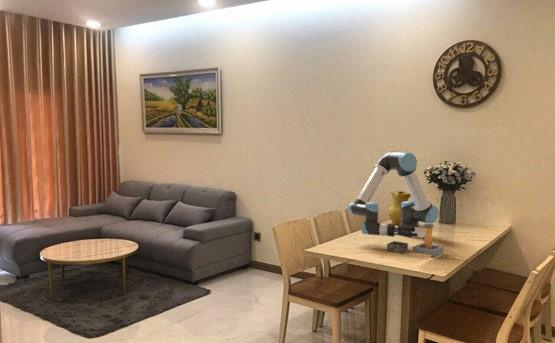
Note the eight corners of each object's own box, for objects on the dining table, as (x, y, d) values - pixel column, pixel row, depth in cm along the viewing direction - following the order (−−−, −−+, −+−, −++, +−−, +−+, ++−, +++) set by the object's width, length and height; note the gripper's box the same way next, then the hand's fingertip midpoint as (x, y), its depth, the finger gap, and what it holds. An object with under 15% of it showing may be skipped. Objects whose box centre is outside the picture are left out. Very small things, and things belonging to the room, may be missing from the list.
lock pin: (421, 251, 264) (421, 224, 263) (425, 250, 268) (426, 223, 267) (430, 253, 260) (431, 225, 259) (434, 251, 264) (435, 224, 263)
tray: (412, 253, 264) (412, 247, 263) (422, 249, 273) (422, 242, 273) (434, 257, 255) (434, 250, 255) (443, 253, 265) (443, 246, 264)
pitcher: (396, 220, 365) (398, 189, 361) (417, 224, 350) (418, 192, 347) (383, 223, 354) (384, 191, 350) (403, 228, 340) (405, 195, 336)
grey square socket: (383, 253, 266) (383, 243, 265) (393, 249, 275) (393, 240, 274) (402, 256, 258) (402, 247, 257) (411, 252, 267) (411, 243, 266)
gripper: (391, 231, 284) (427, 234, 275) (383, 240, 261) (422, 243, 253) (391, 219, 283) (427, 222, 275) (383, 227, 261) (422, 230, 252)
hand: (425, 232), depth 264 cm, fingers open, 13 cm apart
